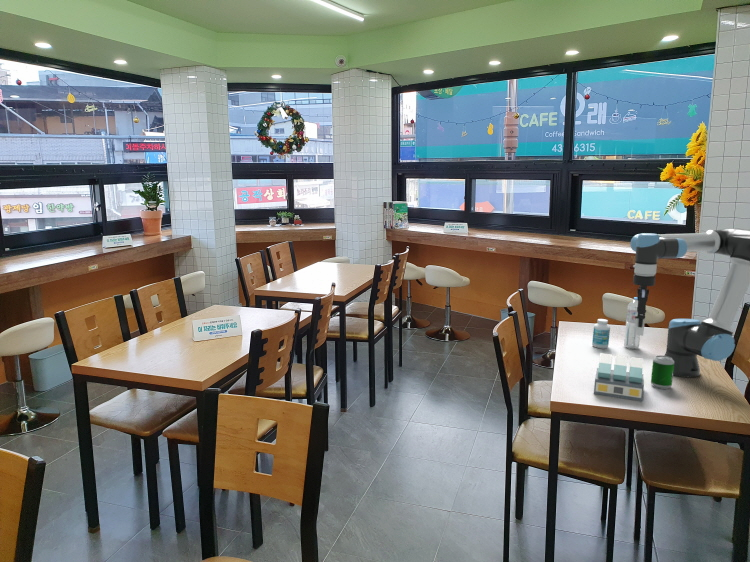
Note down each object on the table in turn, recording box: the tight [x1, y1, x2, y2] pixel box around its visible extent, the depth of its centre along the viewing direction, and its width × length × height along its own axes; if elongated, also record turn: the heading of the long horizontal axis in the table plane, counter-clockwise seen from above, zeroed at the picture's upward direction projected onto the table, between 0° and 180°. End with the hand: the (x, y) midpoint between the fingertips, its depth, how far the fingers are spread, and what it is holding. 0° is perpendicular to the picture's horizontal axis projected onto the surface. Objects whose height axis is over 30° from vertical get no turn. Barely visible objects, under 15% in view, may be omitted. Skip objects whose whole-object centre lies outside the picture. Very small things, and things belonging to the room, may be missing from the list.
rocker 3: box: [628, 356, 644, 383], centre depth 218 cm, size 4×12×2 cm, turn 156°
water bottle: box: [623, 296, 641, 350], centre depth 277 cm, size 7×7×25 cm
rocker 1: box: [597, 352, 613, 379], centre depth 223 cm, size 4×12×2 cm, turn 156°
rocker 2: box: [613, 354, 628, 381], centre depth 221 cm, size 4×12×2 cm, turn 156°
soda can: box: [650, 355, 674, 390], centre depth 227 cm, size 8×8×12 cm
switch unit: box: [593, 367, 645, 402], centre depth 221 cm, size 17×14×8 cm
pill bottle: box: [591, 318, 611, 349], centre depth 279 cm, size 8×7×14 cm
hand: (639, 331), depth 220 cm, fingers open, 9 cm apart
